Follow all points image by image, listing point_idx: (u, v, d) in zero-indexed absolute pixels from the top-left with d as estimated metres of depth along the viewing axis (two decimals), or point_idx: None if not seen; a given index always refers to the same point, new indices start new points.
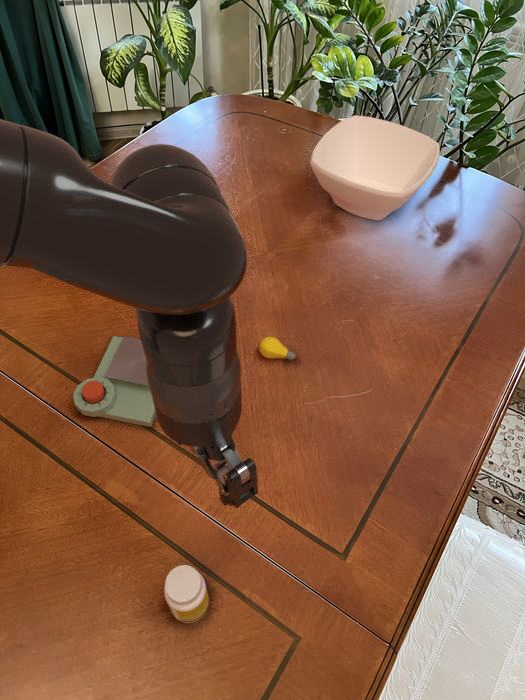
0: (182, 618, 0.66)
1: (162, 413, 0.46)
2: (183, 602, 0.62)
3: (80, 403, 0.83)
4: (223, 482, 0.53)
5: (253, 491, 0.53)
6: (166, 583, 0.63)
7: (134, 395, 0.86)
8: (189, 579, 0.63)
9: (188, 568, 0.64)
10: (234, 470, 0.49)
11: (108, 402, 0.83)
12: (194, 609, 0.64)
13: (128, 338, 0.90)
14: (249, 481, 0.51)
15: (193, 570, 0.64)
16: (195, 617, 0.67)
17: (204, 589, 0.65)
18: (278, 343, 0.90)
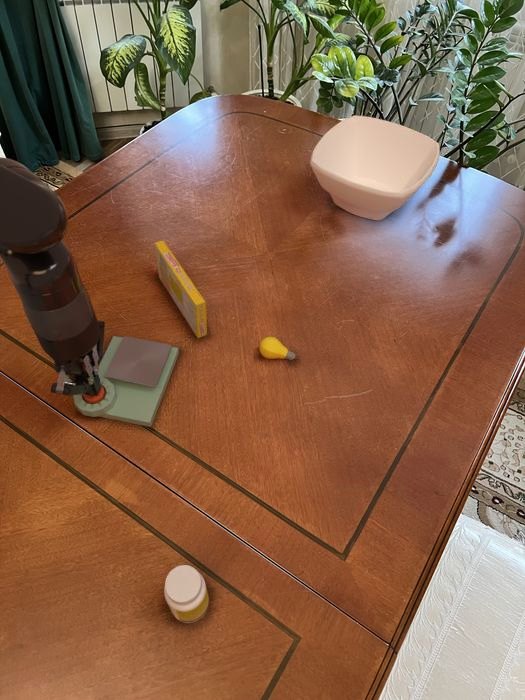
0: (182, 618, 0.66)
1: None
2: (183, 602, 0.62)
3: (80, 403, 0.83)
4: None
5: None
6: (166, 583, 0.63)
7: (134, 395, 0.86)
8: (189, 579, 0.63)
9: (188, 568, 0.64)
10: (55, 387, 0.73)
11: (108, 402, 0.83)
12: (194, 609, 0.64)
13: (128, 338, 0.90)
14: None
15: (193, 570, 0.64)
16: (195, 617, 0.67)
17: (204, 589, 0.65)
18: (278, 343, 0.90)
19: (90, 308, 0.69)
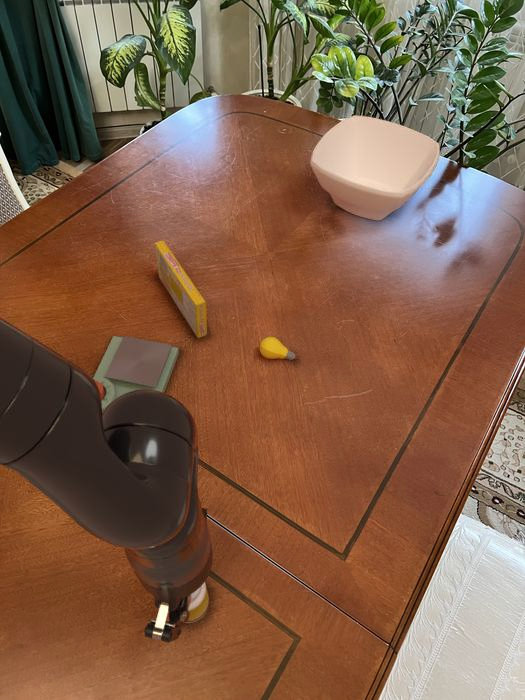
0: None
1: None
2: None
3: None
4: None
5: None
6: None
7: None
8: None
9: None
10: (152, 630, 0.54)
11: (108, 402, 0.83)
12: (194, 609, 0.64)
13: (128, 338, 0.90)
14: None
15: None
16: (195, 617, 0.67)
17: (204, 589, 0.65)
18: (278, 343, 0.90)
19: (209, 541, 0.52)
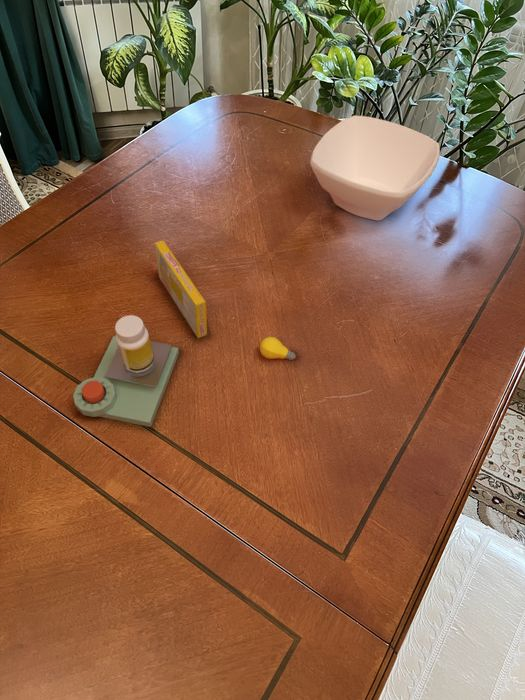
0: (131, 364, 0.84)
1: None
2: (129, 337, 0.80)
3: (80, 403, 0.83)
4: None
5: None
6: (116, 325, 0.80)
7: (134, 395, 0.86)
8: (134, 323, 0.81)
9: (134, 317, 0.81)
10: None
11: (108, 402, 0.83)
12: (139, 349, 0.82)
13: None
14: None
15: (138, 318, 0.81)
16: (141, 364, 0.84)
17: (147, 335, 0.82)
18: (278, 343, 0.90)
19: None
